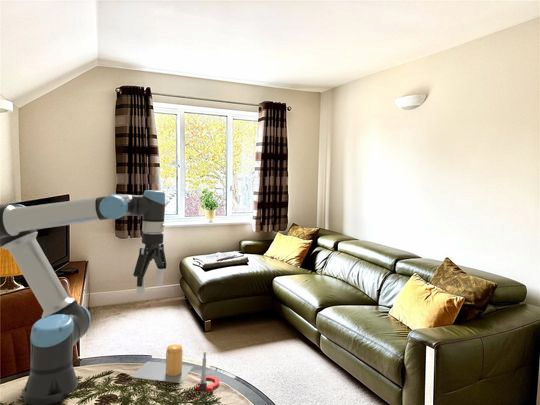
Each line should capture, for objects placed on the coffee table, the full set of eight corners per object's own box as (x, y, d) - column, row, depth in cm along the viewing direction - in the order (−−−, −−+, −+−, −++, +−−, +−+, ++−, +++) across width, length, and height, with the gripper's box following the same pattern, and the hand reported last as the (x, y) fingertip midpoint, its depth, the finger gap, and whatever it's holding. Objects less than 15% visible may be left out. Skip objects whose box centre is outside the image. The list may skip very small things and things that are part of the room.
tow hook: (199, 377, 132) (189, 390, 123) (201, 341, 132) (191, 351, 123) (222, 380, 130) (214, 393, 121) (223, 344, 131) (216, 354, 121)
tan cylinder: (163, 375, 129) (164, 349, 128) (169, 368, 134) (170, 343, 133) (177, 376, 128) (178, 351, 128) (183, 369, 133) (184, 345, 133)
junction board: (130, 381, 127) (131, 362, 127) (147, 365, 139) (147, 348, 138) (180, 387, 124) (181, 368, 124) (193, 370, 136) (193, 353, 136)
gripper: (145, 237, 121) (142, 300, 122) (176, 230, 146) (174, 283, 146) (124, 235, 123) (121, 298, 123) (159, 228, 147) (156, 281, 148)
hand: (150, 290), depth 135 cm, fingers open, 13 cm apart
